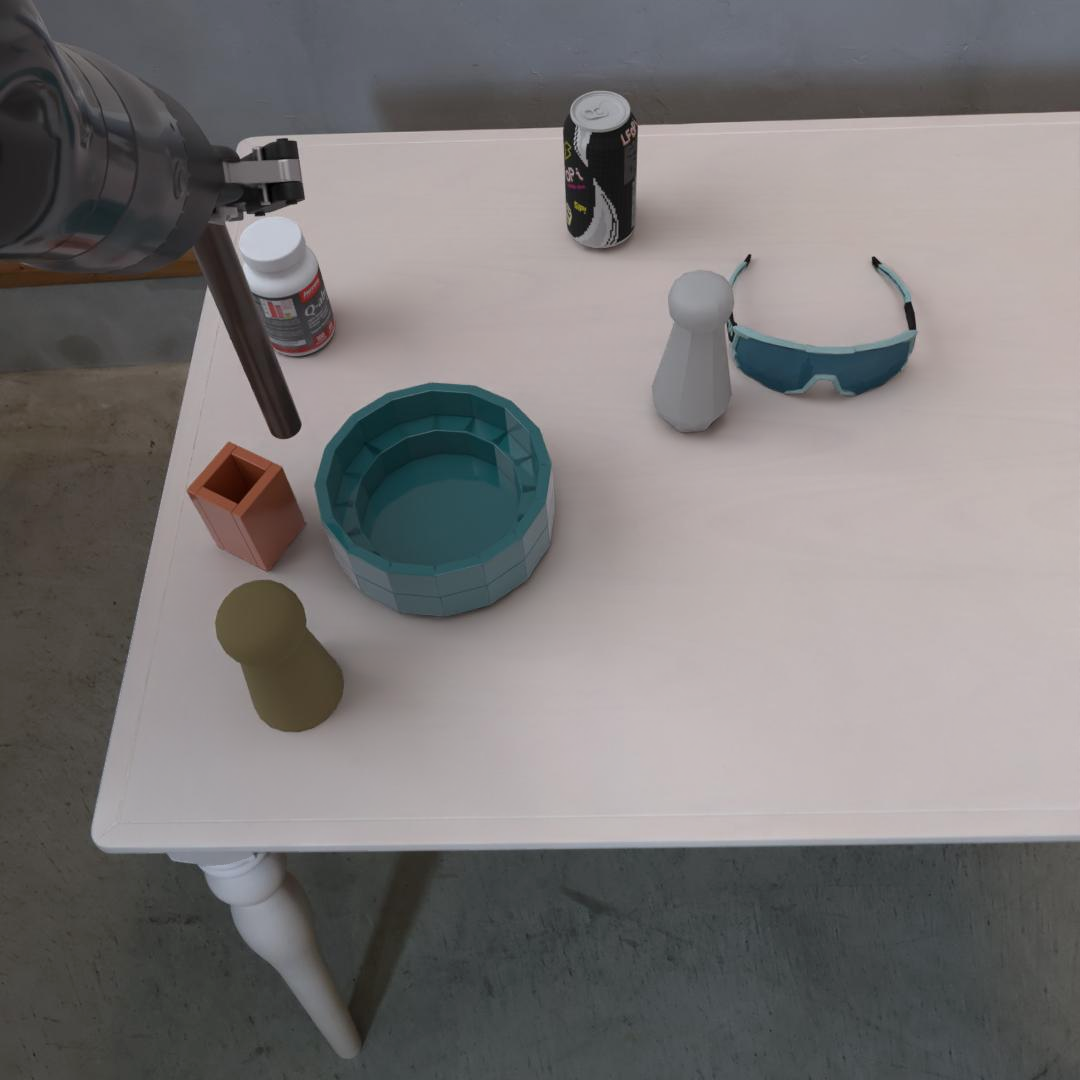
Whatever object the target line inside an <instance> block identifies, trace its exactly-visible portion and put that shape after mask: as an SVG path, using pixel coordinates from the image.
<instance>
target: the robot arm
mask: <svg viewBox="0 0 1080 1080" xmlns="http://www.w3.org/2000/svg"><path fill="white" fill-rule="evenodd" d="M275 140H276V141H271V142H269V143H267V144H264V145H263V146H261V145H259V146H257V145H256V146H253V147H251V152H250V153H249V154H246V155H245V156H243V157H241V158H240V155H239V154H238V152H237V151H236V150H235V149H234V148H232V147H230V146H226V145H219V144H218V145H217V144H211V142H210V141H209V139H208V137H207V136H206V135H205V133H204V131H203V130H202V128H201V127H200V125H199V123H198V122H197V121H196V120H195V119H194V117H193V116H192V115H191V113H189V112H188V110H187V109H186V108H185V107H184V106H183V105H182V104H181V103H180V102H179V101H178V100H176V99H175V98H174V97H173V96H172V95H169V94H168V93H167V92H165V91H164V90H162V89H160V88H158V87H157V86H155V85H153V84H152V83H150V82H148V81H146V80H144V79H142V78H141V77H139V76H137V75H135V74H133V73H132V72H130V71H127V70H126V69H124V68H122V67H120V66H118V64H117V65H116V64H115V63H113V62H112V61H110V60H108V59H107V58H104V57H102V56H100V55H98V54H96V53H94V52H92V51H89V50H87V49H84V48H81V47H79V46H75V45H71V44H68V43H64V42H58V41H55V40H54V39H53V38H52V36H51V34H50V32H49V30H48V28H47V26H46V24H45V22H44V20H43V19H42V16H41V14H40V12H39V11H38V10H37V8H36V6H35V4H34V3H33V1H32V0H0V263H18V264H22V265H24V266H29V267H31V268H36V269H39V270H44V271H49V272H57V273H67V274H92V275H93V274H95V275H121V276H122V275H123V276H125V275H128V276H129V275H130V276H131V275H132V276H133V275H140V274H147V273H151V272H154V271H157V270H161V269H163V268H165V267H167V266H170V265H171V264H172V263H175V262H176V261H178V260H179V259H180V258H182V257H184V255H185V254H187V253H188V252H189V251H190V250H192V246H193V245H194V244H195V243H196V242H197V240H198V239H199V238H200V236H201V235H202V233H203V231H204V230H205V228H206V227H209V226H218V225H225V224H226V222H228V223H231V222H232V223H233V222H240V221H242V222H243V221H244V219H245V218H244V217H245V216H244V214H245V213H246V215H254V217H256V218H257V217H259V218H260V217H265V216H266V214H269V213H273V212H276V211H278V210H281V209H284V208H286V207H289V206H295V205H298V203H300V202H303V201H305V200H306V196H305V189H304V182H303V175H302V168H301V161H300V154H299V148H298V147H299V146H298V141H297V140H294V139H293V140H291V139H290V140H289V138H288V137H281V138H276V139H275Z"/></svg>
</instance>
